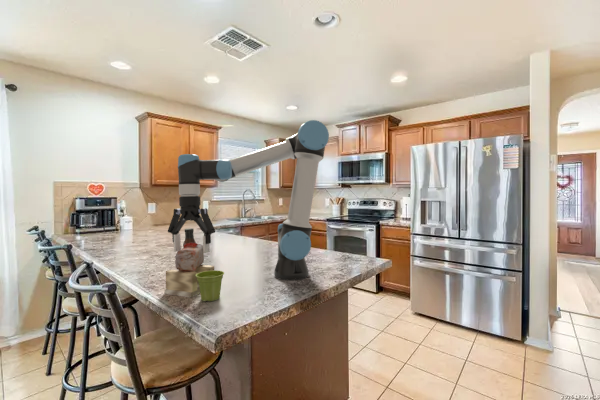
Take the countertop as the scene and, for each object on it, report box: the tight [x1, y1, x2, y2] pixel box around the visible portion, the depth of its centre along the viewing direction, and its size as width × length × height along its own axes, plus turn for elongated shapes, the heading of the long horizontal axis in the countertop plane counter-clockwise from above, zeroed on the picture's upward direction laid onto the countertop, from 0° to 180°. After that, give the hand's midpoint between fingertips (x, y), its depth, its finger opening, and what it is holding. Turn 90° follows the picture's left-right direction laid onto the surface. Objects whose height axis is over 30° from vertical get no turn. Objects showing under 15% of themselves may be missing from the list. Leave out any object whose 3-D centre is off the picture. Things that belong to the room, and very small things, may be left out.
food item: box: [174, 242, 205, 272], centre depth 111 cm, size 14×8×10 cm, turn 5°
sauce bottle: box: [182, 227, 197, 249], centre depth 140 cm, size 7×6×20 cm
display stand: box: [163, 264, 215, 298], centre depth 110 cm, size 12×14×8 cm
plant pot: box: [196, 269, 225, 302], centre depth 100 cm, size 9×9×9 cm
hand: (191, 251), depth 110 cm, fingers open, 13 cm apart
